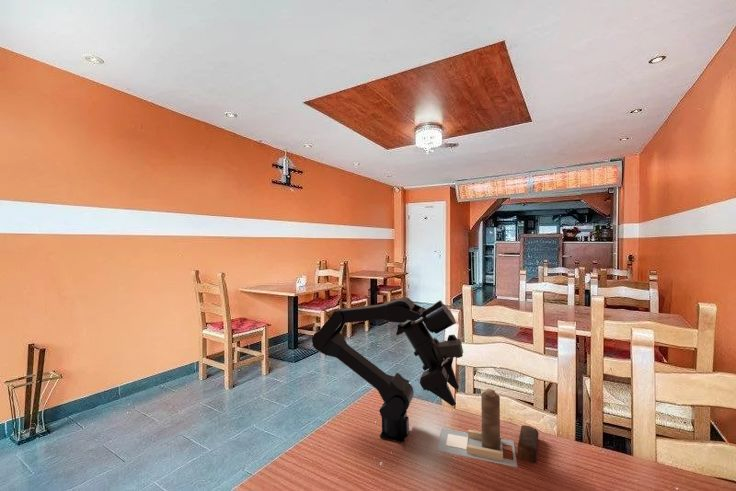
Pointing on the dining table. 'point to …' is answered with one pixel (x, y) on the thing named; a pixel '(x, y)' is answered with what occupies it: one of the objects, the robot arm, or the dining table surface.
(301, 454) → the dining table surface
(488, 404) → the pepper mill
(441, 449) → the board
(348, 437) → the dining table surface
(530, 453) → the brick
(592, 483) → the dining table surface
